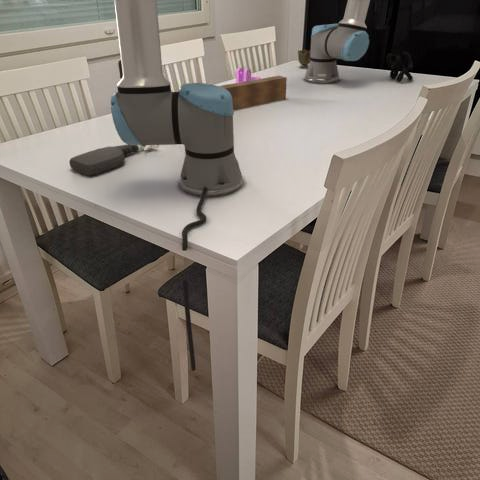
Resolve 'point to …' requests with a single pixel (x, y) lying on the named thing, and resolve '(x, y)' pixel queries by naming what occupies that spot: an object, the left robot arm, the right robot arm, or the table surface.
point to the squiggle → (399, 66)
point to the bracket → (244, 75)
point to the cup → (304, 58)
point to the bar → (257, 91)
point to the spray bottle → (104, 158)
